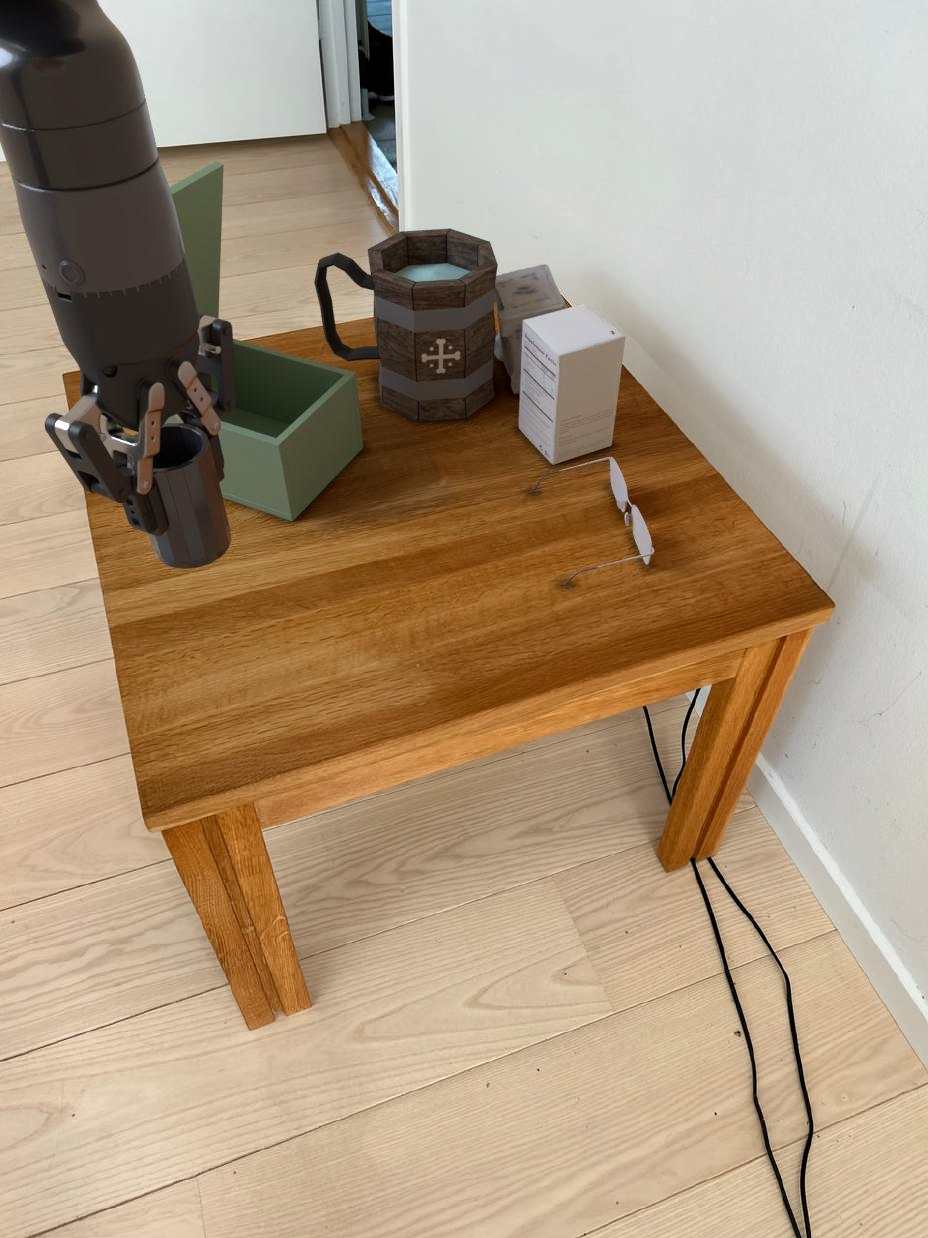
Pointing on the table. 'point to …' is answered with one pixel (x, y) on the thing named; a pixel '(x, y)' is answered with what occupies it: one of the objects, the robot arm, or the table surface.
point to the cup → (188, 499)
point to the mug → (425, 321)
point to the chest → (286, 429)
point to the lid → (202, 232)
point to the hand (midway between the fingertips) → (181, 503)
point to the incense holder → (521, 312)
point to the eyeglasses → (621, 496)
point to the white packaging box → (569, 382)
